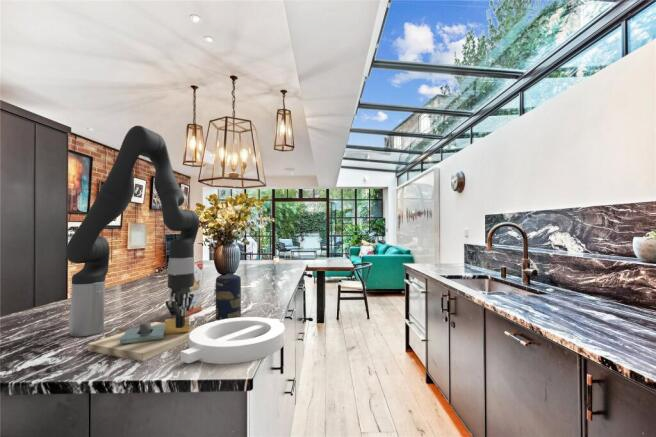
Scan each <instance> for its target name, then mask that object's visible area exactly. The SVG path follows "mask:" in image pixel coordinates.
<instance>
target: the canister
mask: <svg viewBox="0 0 656 437" xmlns="http://www.w3.org/2000/svg"><path fill="white" fill-rule="evenodd" d="M241 280H242V278H241V276H240V275H238V274H232V273H227V274H225V275H220V276H217V277H216V279H215V319H216V321H218V320H223V319H229V318H238V317H242V281H241Z"/></svg>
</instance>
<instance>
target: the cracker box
mask: <svg viewBox="0 0 656 437" xmlns="http://www.w3.org/2000/svg"><path fill="white" fill-rule="evenodd" d="M203 264H204V263H202V262H194V285H193V286H192V287H189V288H190V294H194V297H193V300H192V303H191V306H190V309H189V311H187V312H186V314H185V317H189V316H190V315H192V314H193V315H194V314H195V313H198V312H200V311H202V306H203V305H202V304H203V303H202V300H203V299H202V298H203ZM171 292H172V289H171V288H169V300H170V299H171ZM168 319H170V312H169V311H168Z"/></svg>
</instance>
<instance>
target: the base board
mask: <svg viewBox="0 0 656 437" xmlns="http://www.w3.org/2000/svg"><path fill="white" fill-rule="evenodd" d="M174 318H176V316H174V315H171V314H170V318H169V319H174ZM157 325H165V322H159V321H154V322H149V321H147V322H145V321H144V322H142V323H140V324H139V326H138V327H137V328H139V327H140V334H144V333H151V326H157ZM197 327H198V326H190V325H189V331H187V332H179V333H171V334H165V335H164V338H163V339H156V340H148V341H140V342H132V343H124V344H120V339H121V338H122V337H123V335H124V334H125V332H126V331H124V332H120V333H117V334H115V335H111V336H108V337H105V338H101V339H98V340H95V341H93V342H89V343H87V351H88V352H93V353H97V354H104V355H108V356H114V357H117V358H123V359H124V358H126V359H129V360H134V361H139V362H140V361H141V362H145V361H146V360H147V361H148V360H149V359H151V358H153V357H156V356H159V355H160V354H163V353H165V352H168V351H170V350H172V349H174V348H176V347H178V346H181V345H183V344H185V343H189V334H190V333H191V331H193V330H194V329H195V328H197Z"/></svg>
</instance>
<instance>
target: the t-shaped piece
mask: <svg viewBox="0 0 656 437" xmlns="http://www.w3.org/2000/svg"><path fill="white" fill-rule="evenodd" d="M164 323H165V325H157V326H151V333H144V334H140V326H138V327H139V328H138V327H133V328H132V327H131V328H128V329H127V330H126V331H124V332H125V334H124V335H123V337H122V338H121V339H120V344H124V343H132V342H140V341H148V340H156V339H163V338H164V335H165V334H171V333H179V332H187V331H189V326H190V316H185V326H184V327H182V328H176V327H175V325H176V318H174V319H170V318H167V319H165V320H164Z"/></svg>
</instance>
